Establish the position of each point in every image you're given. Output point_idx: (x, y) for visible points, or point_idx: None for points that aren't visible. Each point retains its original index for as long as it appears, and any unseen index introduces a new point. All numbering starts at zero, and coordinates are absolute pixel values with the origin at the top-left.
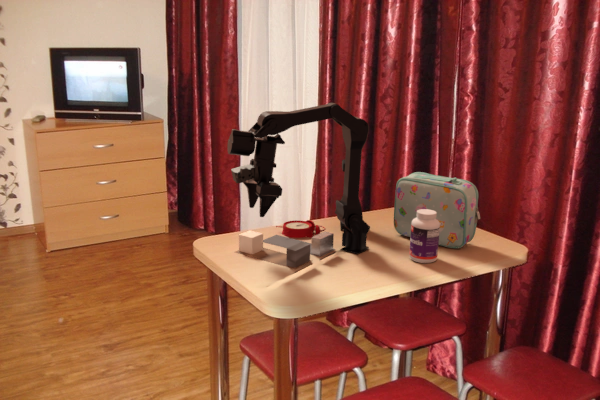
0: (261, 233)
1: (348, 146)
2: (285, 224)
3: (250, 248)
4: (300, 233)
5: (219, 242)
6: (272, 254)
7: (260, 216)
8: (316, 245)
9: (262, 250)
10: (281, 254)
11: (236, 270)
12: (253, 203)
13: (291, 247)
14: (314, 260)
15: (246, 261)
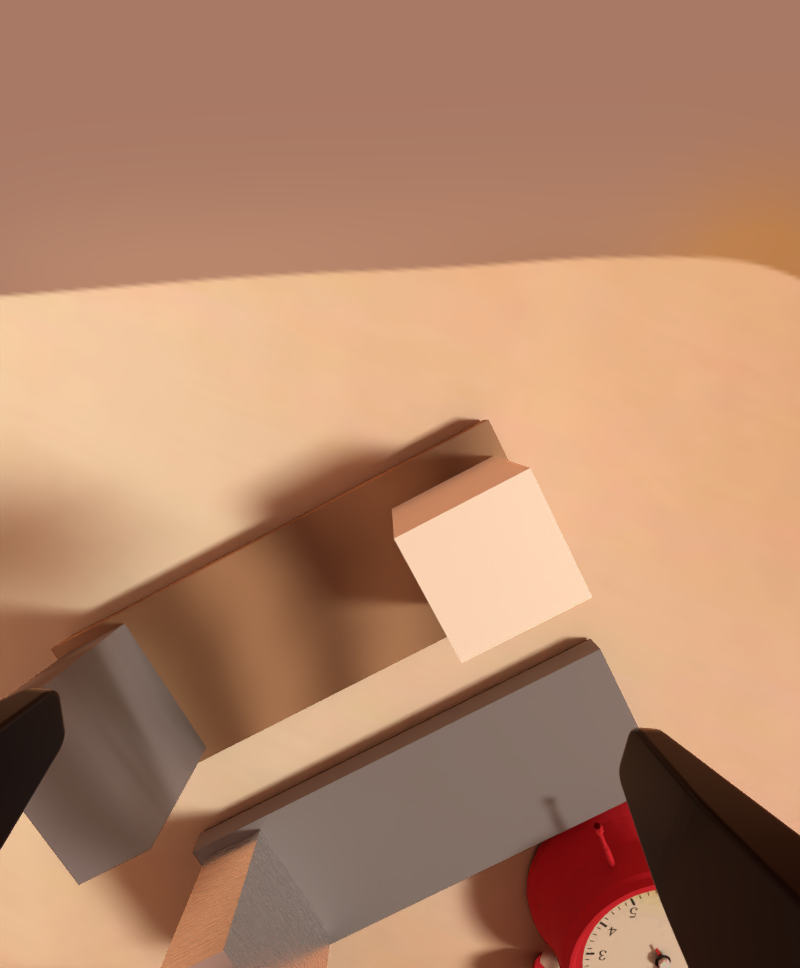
0: (470, 652)
1: None
2: None
3: (405, 510)
4: (558, 913)
5: (752, 421)
6: (339, 623)
7: (21, 693)
8: (205, 909)
9: None
10: (317, 672)
11: (232, 336)
12: (665, 854)
13: None
14: (215, 804)
15: (354, 451)
